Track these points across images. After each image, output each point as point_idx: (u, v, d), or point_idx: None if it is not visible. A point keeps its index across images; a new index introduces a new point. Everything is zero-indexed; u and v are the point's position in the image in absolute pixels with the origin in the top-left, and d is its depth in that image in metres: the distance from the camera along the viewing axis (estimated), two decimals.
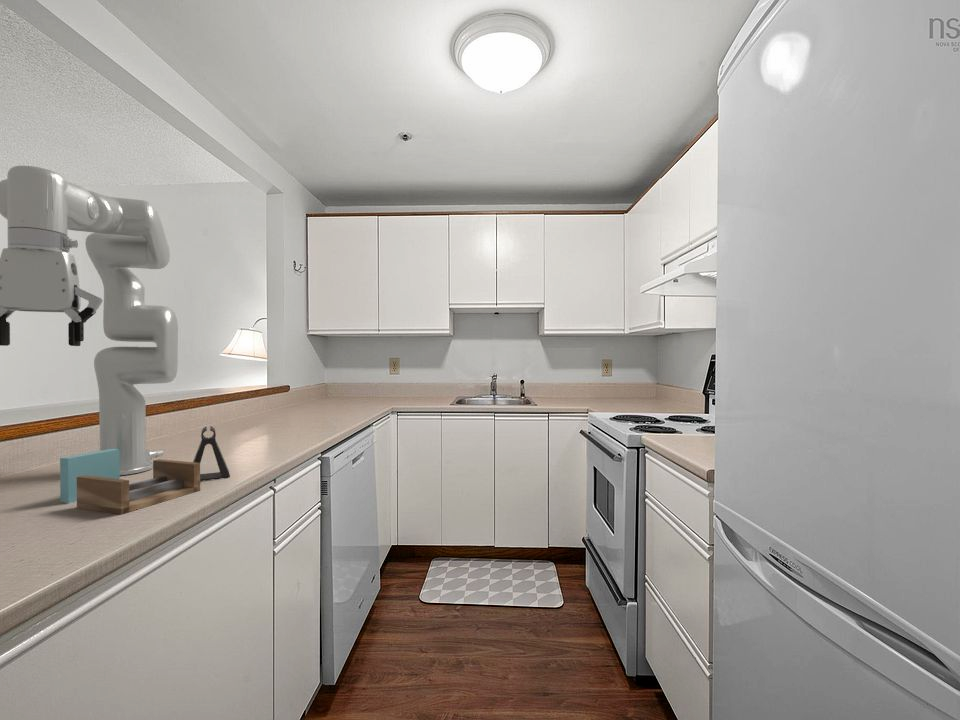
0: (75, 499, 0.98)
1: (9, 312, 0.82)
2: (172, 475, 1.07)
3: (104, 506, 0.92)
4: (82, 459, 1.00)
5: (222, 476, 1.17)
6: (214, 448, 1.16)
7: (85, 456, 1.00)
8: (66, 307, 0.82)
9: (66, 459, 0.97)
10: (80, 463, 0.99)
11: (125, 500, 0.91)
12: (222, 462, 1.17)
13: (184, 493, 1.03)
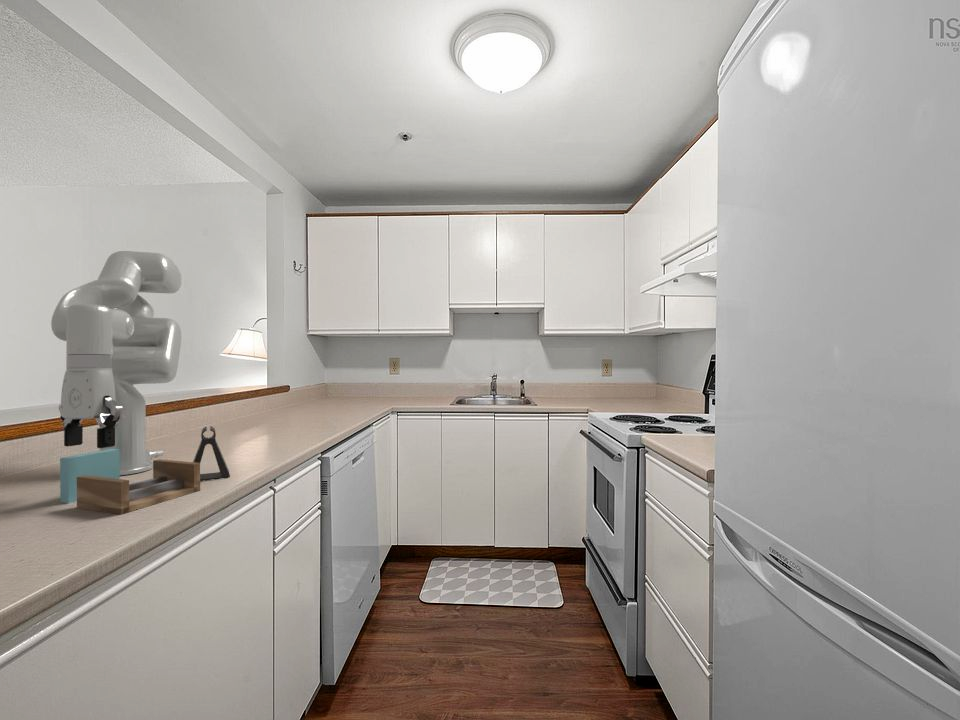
0: (75, 499, 0.98)
1: None
2: (172, 475, 1.07)
3: (104, 506, 0.92)
4: (82, 459, 1.00)
5: (222, 476, 1.17)
6: (214, 448, 1.16)
7: (85, 456, 1.00)
8: None
9: (66, 459, 0.97)
10: (80, 463, 0.99)
11: (125, 500, 0.91)
12: (222, 462, 1.17)
13: (184, 493, 1.03)
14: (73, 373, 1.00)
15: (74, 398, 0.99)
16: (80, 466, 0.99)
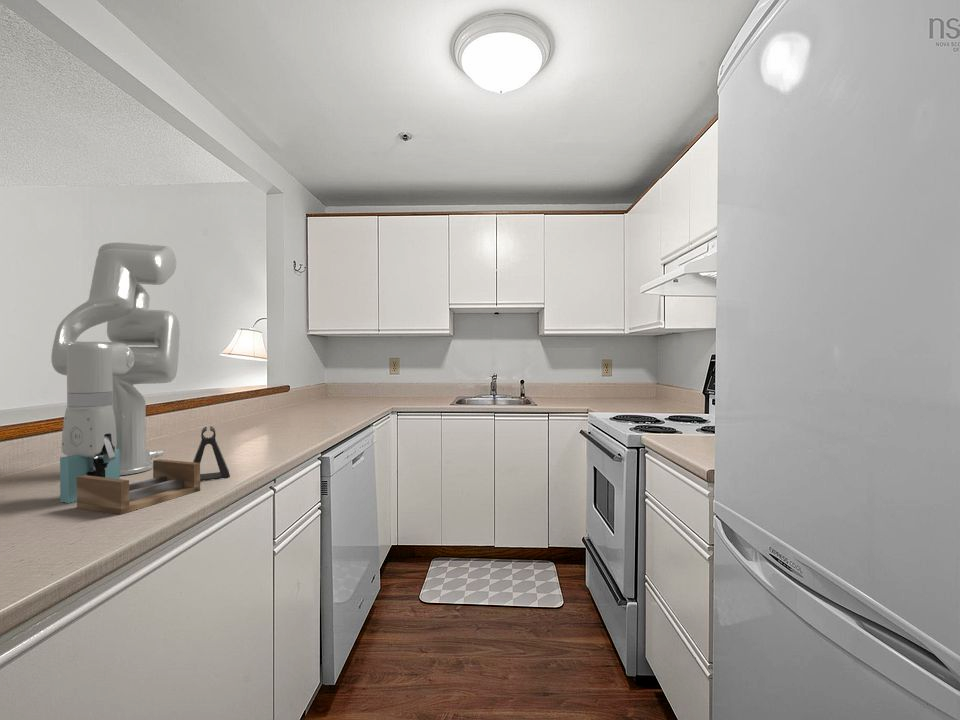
0: (75, 499, 0.98)
1: None
2: (172, 475, 1.07)
3: (104, 506, 0.92)
4: (82, 459, 1.00)
5: (222, 476, 1.17)
6: (214, 448, 1.16)
7: None
8: None
9: (66, 459, 0.97)
10: (80, 463, 0.99)
11: (125, 500, 0.91)
12: (222, 462, 1.17)
13: (184, 493, 1.03)
14: (74, 411, 1.00)
15: (75, 436, 1.00)
16: (80, 466, 0.99)
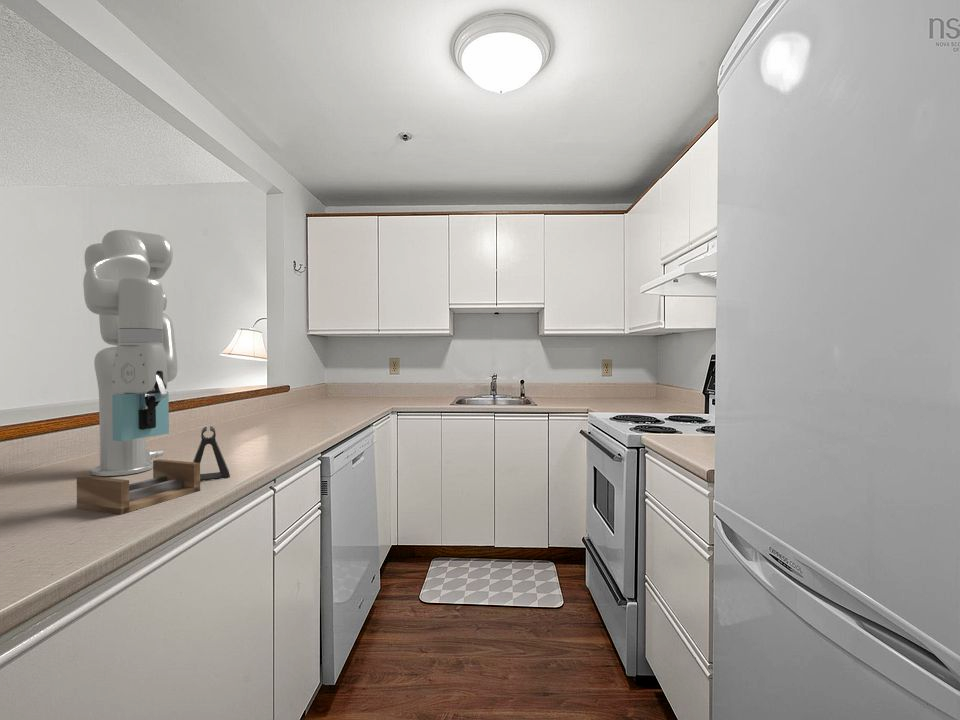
0: (127, 437, 0.96)
1: None
2: (172, 475, 1.07)
3: (104, 506, 0.92)
4: (133, 397, 0.97)
5: (222, 476, 1.17)
6: (214, 448, 1.16)
7: (137, 394, 0.98)
8: None
9: (119, 395, 0.95)
10: (132, 401, 0.97)
11: (125, 500, 0.91)
12: (222, 462, 1.17)
13: (184, 493, 1.03)
14: (125, 347, 0.98)
15: (126, 372, 0.98)
16: (132, 404, 0.97)
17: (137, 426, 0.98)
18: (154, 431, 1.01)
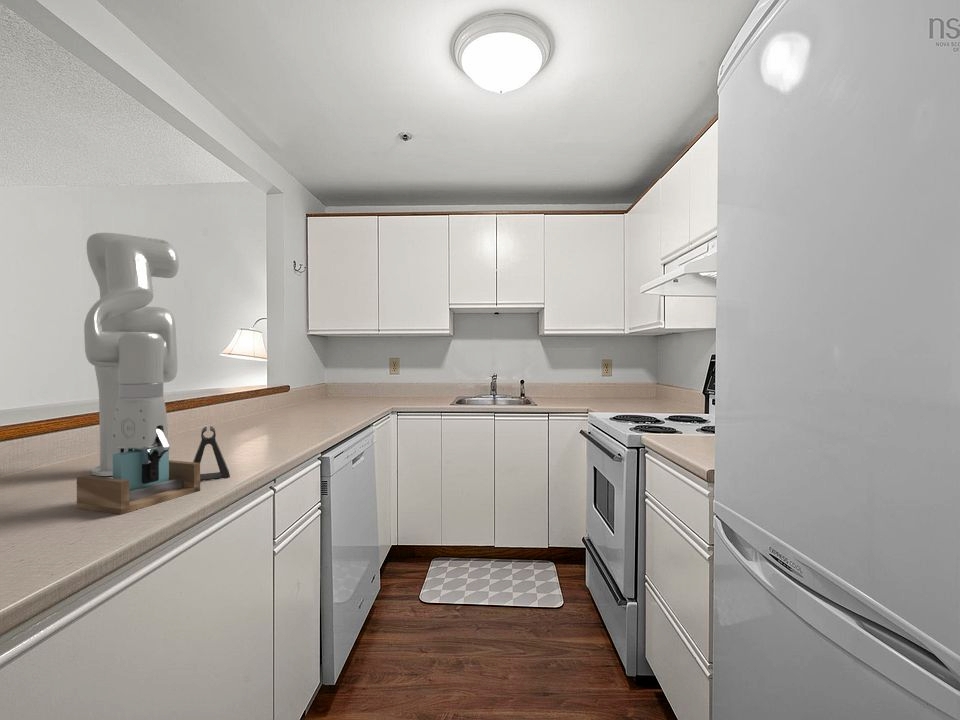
0: None
1: None
2: (172, 475, 1.07)
3: (104, 506, 0.92)
4: (134, 456, 0.98)
5: (222, 476, 1.17)
6: (214, 448, 1.16)
7: (137, 452, 0.98)
8: None
9: (119, 455, 0.96)
10: (132, 460, 0.98)
11: (125, 500, 0.91)
12: (222, 462, 1.17)
13: (184, 493, 1.03)
14: (126, 402, 0.98)
15: (127, 427, 0.98)
16: (132, 463, 0.98)
17: (137, 484, 0.98)
18: None
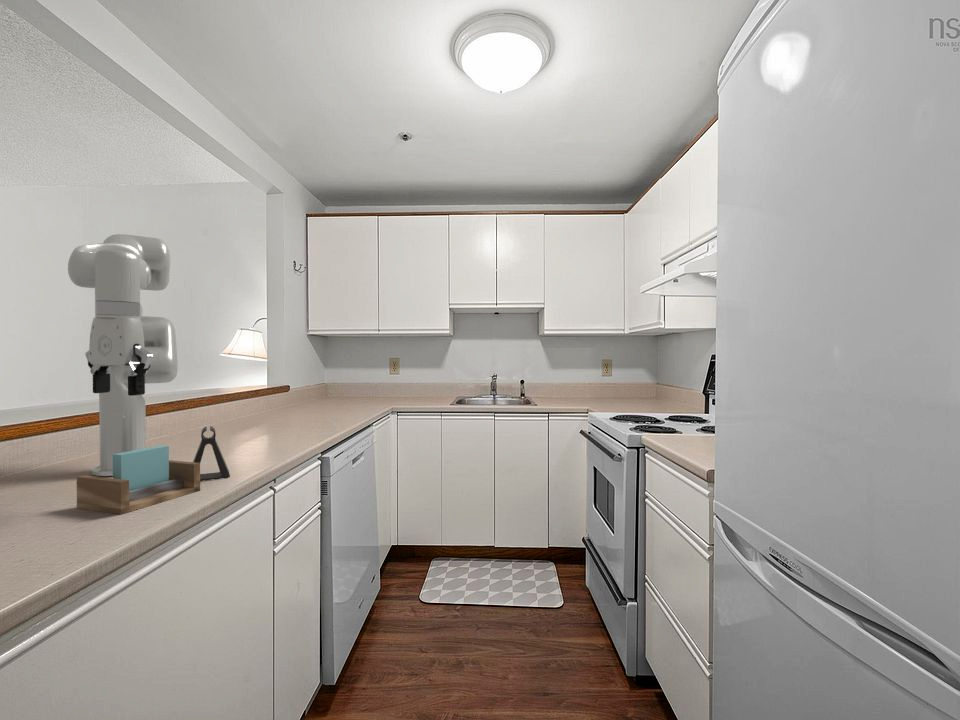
0: None
1: None
2: (172, 475, 1.07)
3: (104, 506, 0.92)
4: (134, 456, 0.98)
5: (222, 476, 1.17)
6: (214, 448, 1.16)
7: (137, 452, 0.98)
8: None
9: (119, 455, 0.96)
10: (132, 460, 0.98)
11: (125, 500, 0.91)
12: (222, 462, 1.17)
13: (184, 493, 1.03)
14: (102, 319, 0.99)
15: (103, 345, 0.99)
16: (132, 463, 0.98)
17: (137, 484, 0.98)
18: None
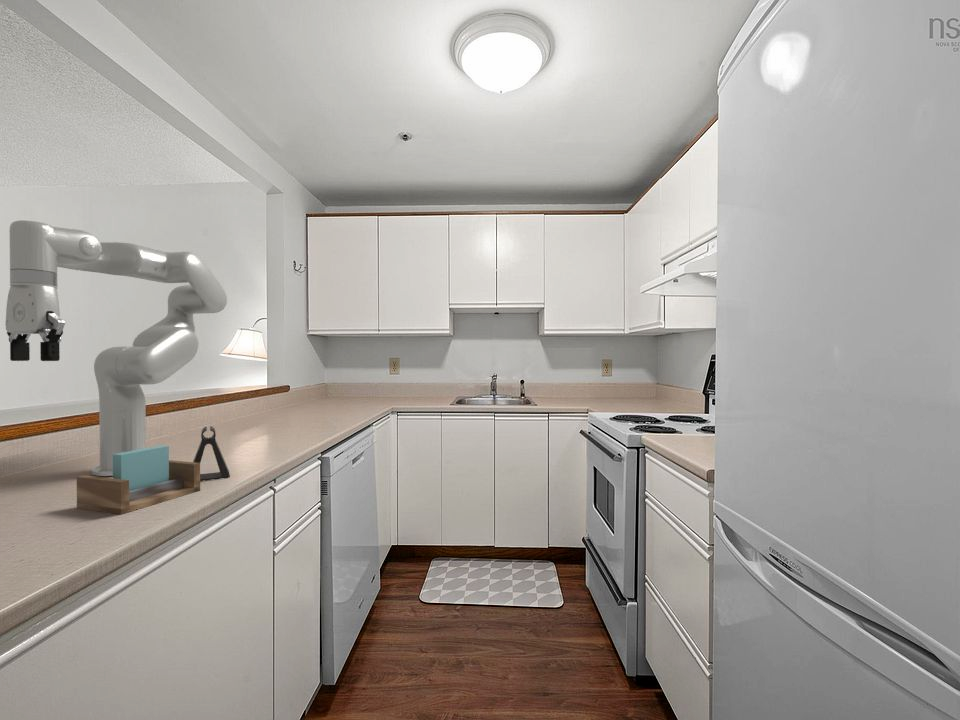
0: None
1: None
2: (172, 475, 1.07)
3: (104, 506, 0.92)
4: (134, 456, 0.98)
5: (222, 476, 1.17)
6: (214, 448, 1.16)
7: (137, 452, 0.98)
8: None
9: (119, 455, 0.96)
10: (132, 460, 0.98)
11: (125, 500, 0.91)
12: (222, 462, 1.17)
13: (184, 493, 1.03)
14: (17, 288, 1.02)
15: (17, 312, 1.02)
16: (132, 463, 0.98)
17: (137, 484, 0.98)
18: None
